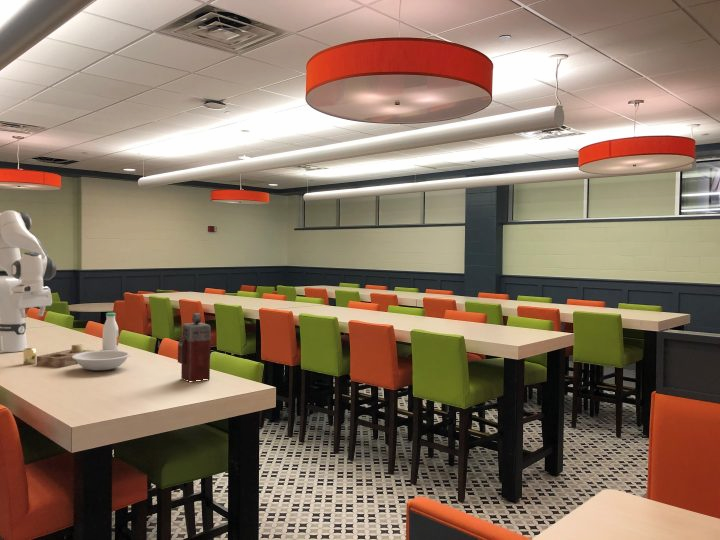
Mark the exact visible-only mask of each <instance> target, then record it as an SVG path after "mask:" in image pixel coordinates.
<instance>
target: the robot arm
mask: <svg viewBox="0 0 720 540" xmlns="http://www.w3.org/2000/svg"><path fill="white" fill-rule="evenodd" d="M31 227H32V219H31V216H30V215H29V214H28V213H26V212H22V211H19V212H17V211H16V210H13V209H11V210H4V211H3V212H0V269H1V270H4V271H5V273H6V274H7V275H0V354H1V353H2V354H3V353H16V352H24V349H25V348H29V345H28V341H27V333H26V329H27V323H26V319H27V318H28V314H27V313H26V309H28V308H29V309H30V308H39V311H38V312H37V316H38V317H43V316H44V313H45V311H46V307H50V306H52V305H53V298H52V297H53V296H52V292H51V288H50V287H49V286H44V281H50V280H51V279H53V278H54V277H56V275H57V266H56V263H55V261H54V260H53V259H51V257H50V256H49V254H48V252H47V251H46V250H45V247H44V245H43V244H42V243H41V241H40V240H39V238H38V237H37V236H35V235H34V234H32V233H31V232H30V229H31ZM20 249H23V250H27V251H28V252H23V253H22V255H21V250H20Z"/></svg>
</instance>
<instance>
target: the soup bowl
mask: <svg viewBox="0 0 720 540" xmlns="http://www.w3.org/2000/svg"><path fill="white" fill-rule="evenodd" d="M131 355H132V354H131V352H129V351H123V350H116V351H114V350H105V351H103V350H92V351H91V352H83V353H79V354H75V355H73V356H72V358H73V359H75V360H76V361H77V363H78V365H79V366H80V367H82V368H83V369H84V370H85V369H86V370H90V371H108V370H114V369H116V368H119V367H120V366H121V365H122V364H124V363H125V362H126V360H127V359H128V357H129V358H130V356H131Z"/></svg>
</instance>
